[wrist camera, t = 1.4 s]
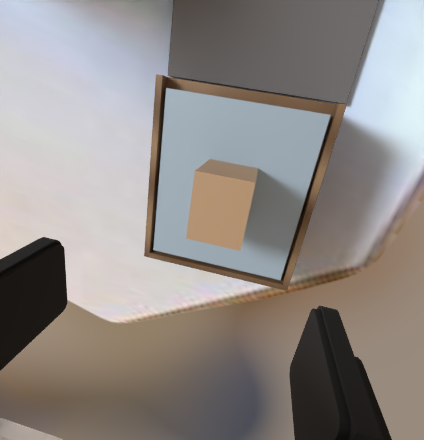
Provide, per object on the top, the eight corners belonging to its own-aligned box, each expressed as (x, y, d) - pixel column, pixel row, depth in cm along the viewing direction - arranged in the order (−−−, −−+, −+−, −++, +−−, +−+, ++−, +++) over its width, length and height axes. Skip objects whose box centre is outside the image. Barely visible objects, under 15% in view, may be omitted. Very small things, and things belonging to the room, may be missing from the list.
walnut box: (183, 83, 27) (156, 74, 21) (326, 107, 25) (346, 104, 19) (168, 227, 33) (144, 256, 27) (283, 253, 32) (287, 290, 25)
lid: (170, 89, 22) (137, 80, 16) (327, 114, 20) (349, 115, 15) (157, 245, 27) (129, 278, 22) (279, 274, 26) (283, 317, 20)
